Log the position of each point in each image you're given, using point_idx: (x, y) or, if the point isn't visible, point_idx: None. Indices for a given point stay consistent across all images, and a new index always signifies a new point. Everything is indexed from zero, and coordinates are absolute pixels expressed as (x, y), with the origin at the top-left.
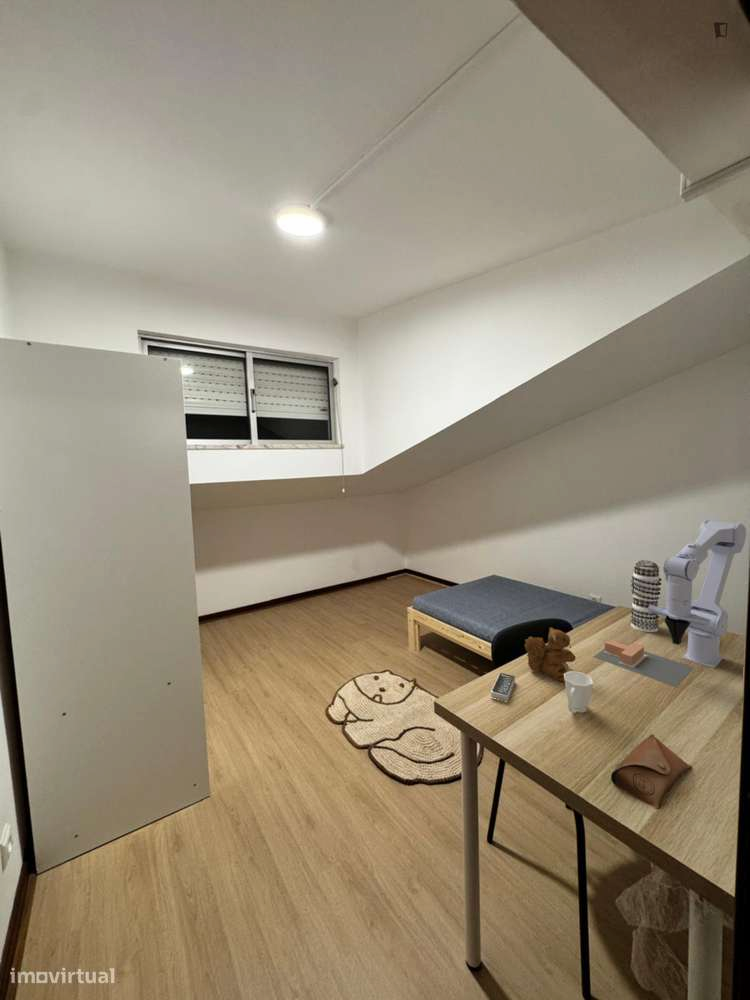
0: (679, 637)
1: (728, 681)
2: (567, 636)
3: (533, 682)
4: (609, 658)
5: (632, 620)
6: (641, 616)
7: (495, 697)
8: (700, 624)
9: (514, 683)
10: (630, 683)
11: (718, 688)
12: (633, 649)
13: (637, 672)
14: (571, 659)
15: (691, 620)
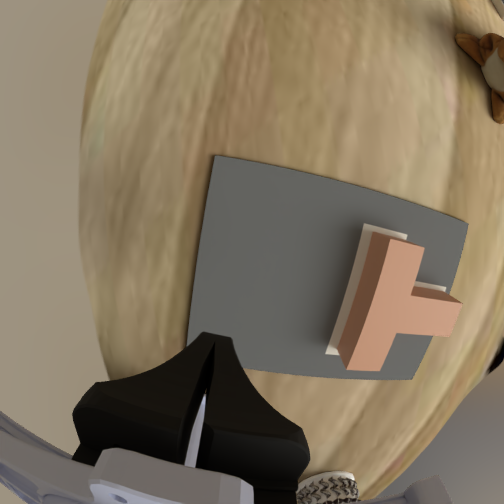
0: (183, 351)
1: (102, 320)
2: None
3: (491, 25)
4: (433, 245)
5: (354, 487)
6: (341, 502)
7: None
8: (6, 422)
9: (499, 11)
10: (352, 99)
11: (111, 254)
12: (384, 315)
13: (348, 188)
14: (501, 41)
15: (5, 438)
